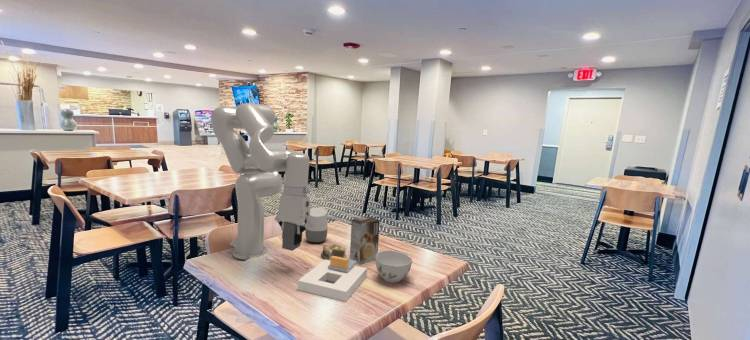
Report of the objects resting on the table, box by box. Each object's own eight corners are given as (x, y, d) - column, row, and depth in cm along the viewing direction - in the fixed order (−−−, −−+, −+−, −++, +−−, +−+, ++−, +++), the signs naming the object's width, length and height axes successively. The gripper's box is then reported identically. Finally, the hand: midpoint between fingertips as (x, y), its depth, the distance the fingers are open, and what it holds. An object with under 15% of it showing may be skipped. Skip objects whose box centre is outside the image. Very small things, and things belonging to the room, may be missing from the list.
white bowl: (396, 292, 103) (398, 268, 102) (366, 279, 110) (367, 256, 109) (421, 277, 114) (423, 255, 113) (392, 266, 122) (393, 245, 121)
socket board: (297, 289, 100) (297, 280, 100) (324, 267, 117) (325, 259, 117) (345, 301, 95) (346, 291, 95) (366, 276, 112) (367, 268, 112)
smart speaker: (303, 243, 139) (304, 211, 137) (307, 236, 148) (308, 206, 146) (325, 244, 139) (327, 213, 137) (328, 237, 148) (329, 207, 147)
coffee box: (367, 254, 132) (369, 215, 130) (377, 260, 127) (380, 220, 125) (348, 259, 126) (351, 218, 124) (359, 265, 121) (361, 223, 119)
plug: (282, 248, 110) (284, 215, 108) (290, 243, 115) (292, 212, 113) (292, 250, 109) (294, 218, 107) (300, 245, 113) (302, 214, 112)
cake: (316, 254, 129) (317, 241, 128) (338, 250, 135) (339, 237, 134) (328, 263, 121) (329, 250, 120) (351, 259, 127) (352, 245, 126)
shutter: (327, 268, 109) (328, 257, 109) (338, 259, 117) (339, 249, 117) (347, 272, 107) (347, 261, 106) (356, 263, 115) (357, 252, 114)
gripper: (323, 192, 110) (318, 244, 113) (280, 184, 115) (277, 233, 118) (312, 196, 103) (307, 251, 105) (267, 187, 108) (264, 240, 110)
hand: (291, 241), depth 111 cm, fingers closed on plug, 4 cm apart
